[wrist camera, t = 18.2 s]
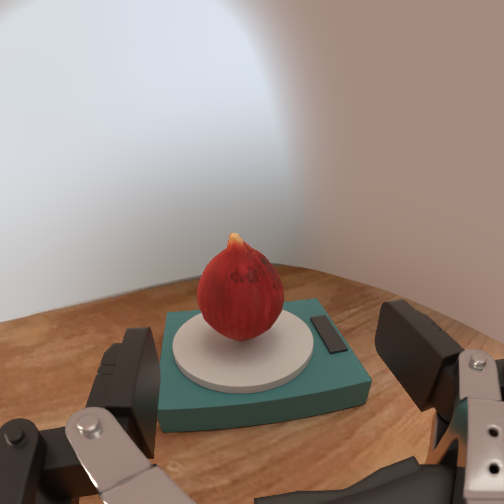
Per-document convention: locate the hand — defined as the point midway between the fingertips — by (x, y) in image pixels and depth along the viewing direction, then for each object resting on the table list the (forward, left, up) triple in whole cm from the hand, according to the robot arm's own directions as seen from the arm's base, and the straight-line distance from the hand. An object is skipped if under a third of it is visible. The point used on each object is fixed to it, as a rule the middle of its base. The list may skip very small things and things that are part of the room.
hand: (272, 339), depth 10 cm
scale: (-1, -11, -11) cm, 15 cm away
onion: (0, -11, -8) cm, 13 cm away
